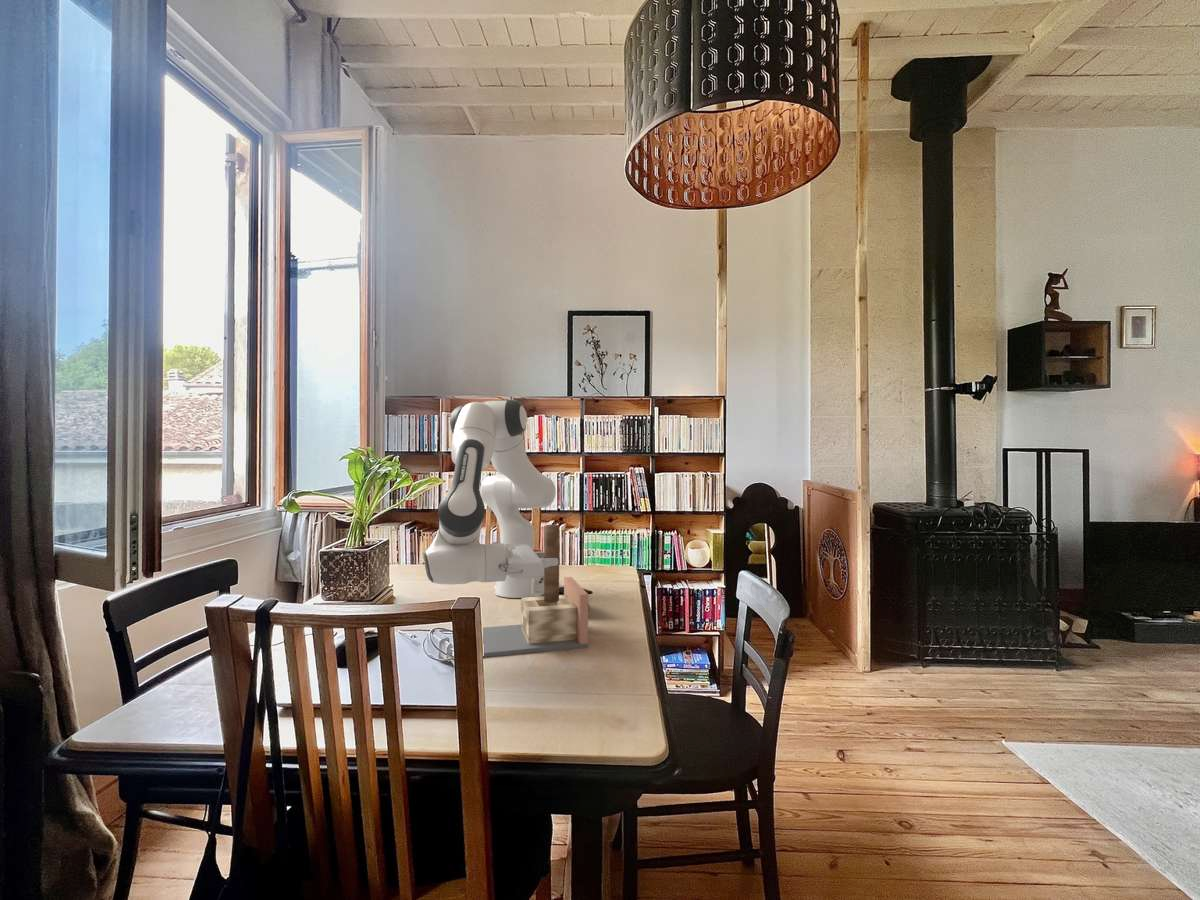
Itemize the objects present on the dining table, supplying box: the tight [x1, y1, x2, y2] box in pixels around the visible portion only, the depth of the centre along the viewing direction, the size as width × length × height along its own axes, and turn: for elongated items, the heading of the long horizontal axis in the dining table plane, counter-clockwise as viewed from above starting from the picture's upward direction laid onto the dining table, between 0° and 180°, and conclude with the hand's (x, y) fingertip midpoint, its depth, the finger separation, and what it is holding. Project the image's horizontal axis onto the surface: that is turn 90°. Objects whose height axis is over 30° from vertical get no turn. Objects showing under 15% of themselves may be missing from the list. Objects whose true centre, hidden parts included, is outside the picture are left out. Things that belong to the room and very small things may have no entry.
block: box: [520, 595, 577, 644], centre depth 145 cm, size 12×12×8 cm
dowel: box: [543, 524, 560, 603], centre depth 136 cm, size 4×4×18 cm
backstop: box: [482, 576, 589, 658], centre depth 143 cm, size 27×18×13 cm, turn 106°
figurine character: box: [559, 586, 594, 613], centre depth 168 cm, size 7×8×15 cm
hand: (555, 558), depth 136 cm, fingers closed on dowel, 4 cm apart
